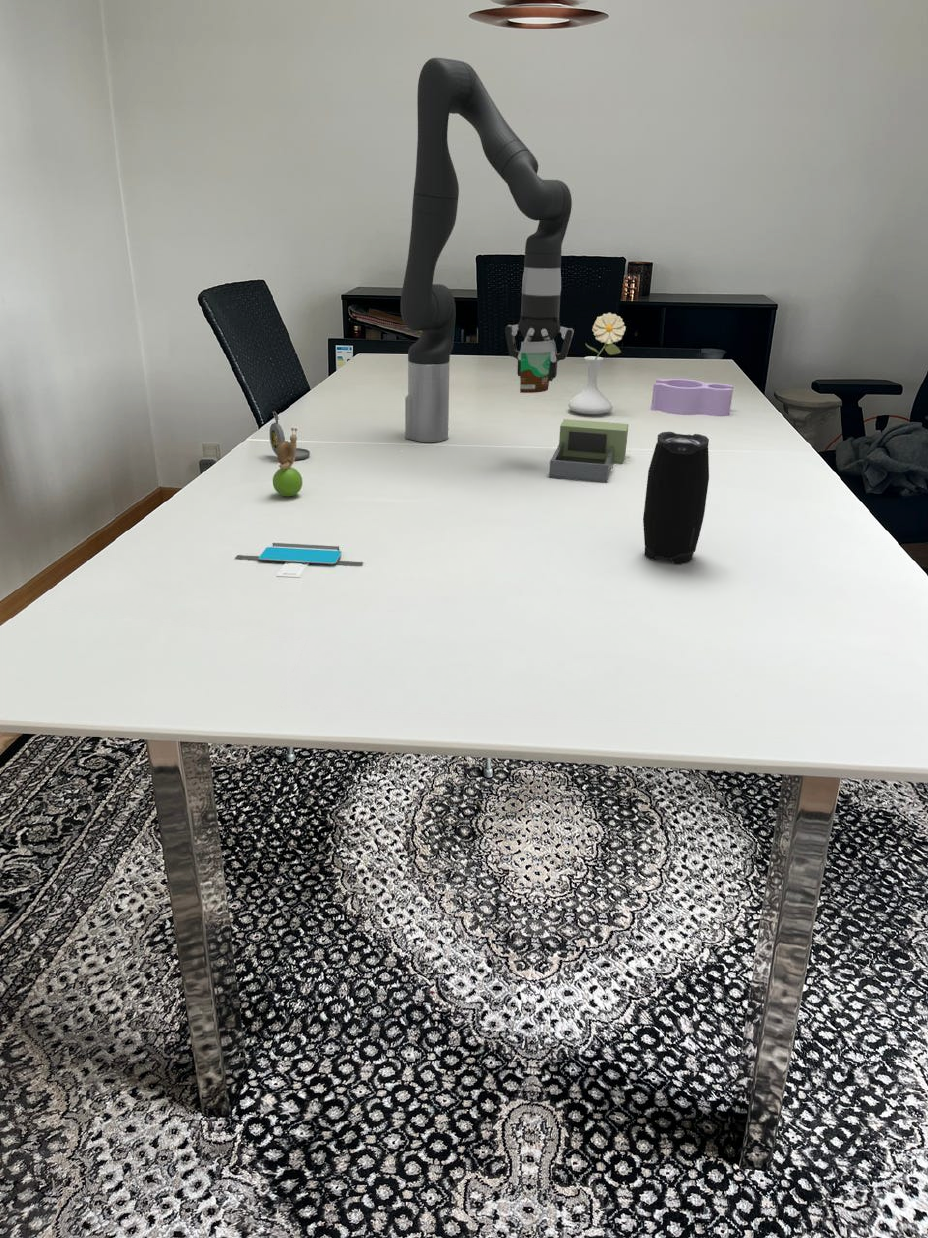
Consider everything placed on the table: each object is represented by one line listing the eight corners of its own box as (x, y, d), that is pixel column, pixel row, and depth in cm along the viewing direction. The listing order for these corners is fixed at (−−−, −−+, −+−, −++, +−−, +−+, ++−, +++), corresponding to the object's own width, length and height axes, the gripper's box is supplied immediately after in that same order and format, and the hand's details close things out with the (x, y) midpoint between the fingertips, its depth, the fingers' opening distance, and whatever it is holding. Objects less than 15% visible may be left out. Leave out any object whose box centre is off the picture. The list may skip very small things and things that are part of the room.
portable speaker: (631, 548, 158) (643, 431, 150) (683, 545, 161) (698, 429, 152) (653, 567, 151) (667, 445, 143) (707, 563, 153) (724, 442, 145)
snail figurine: (310, 492, 182) (307, 429, 176) (294, 501, 176) (291, 437, 171) (285, 488, 183) (281, 426, 178) (268, 498, 178) (264, 433, 172)
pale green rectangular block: (557, 458, 207) (560, 426, 205) (561, 450, 214) (564, 418, 211) (623, 463, 205) (626, 431, 202) (625, 455, 211) (628, 423, 208)
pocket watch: (316, 455, 205) (314, 408, 200) (293, 464, 198) (291, 416, 194) (284, 450, 208) (281, 403, 204) (260, 459, 201) (257, 411, 197)
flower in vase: (562, 414, 245) (569, 312, 235) (574, 405, 255) (581, 307, 244) (612, 420, 241) (621, 316, 230) (622, 411, 250) (632, 311, 240)
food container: (549, 395, 190) (552, 343, 186) (518, 393, 191) (520, 342, 187) (557, 384, 201) (560, 334, 197) (528, 382, 202) (530, 333, 198)
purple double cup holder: (730, 409, 257) (734, 383, 254) (728, 419, 246) (732, 392, 243) (654, 402, 262) (657, 377, 259) (649, 412, 251) (652, 385, 248)
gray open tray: (549, 477, 194) (550, 460, 193) (559, 457, 208) (560, 441, 206) (606, 482, 192) (608, 465, 190) (612, 462, 206) (614, 446, 204)
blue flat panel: (223, 577, 145) (222, 566, 144) (245, 549, 155) (245, 539, 155) (354, 584, 143) (354, 574, 143) (368, 555, 154) (368, 546, 153)
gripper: (501, 291, 186) (498, 380, 193) (575, 295, 183) (569, 385, 191) (508, 288, 193) (505, 374, 200) (580, 291, 190) (574, 378, 197)
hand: (536, 379), depth 195 cm, fingers closed on food container, 5 cm apart
